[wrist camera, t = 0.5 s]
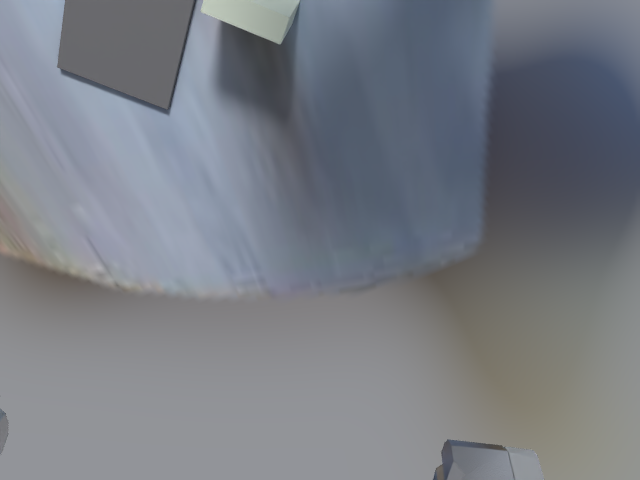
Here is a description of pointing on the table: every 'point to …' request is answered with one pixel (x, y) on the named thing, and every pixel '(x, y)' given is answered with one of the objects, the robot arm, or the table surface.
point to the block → (255, 15)
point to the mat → (126, 44)
